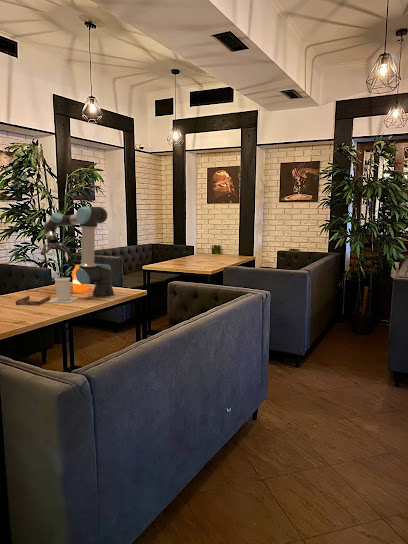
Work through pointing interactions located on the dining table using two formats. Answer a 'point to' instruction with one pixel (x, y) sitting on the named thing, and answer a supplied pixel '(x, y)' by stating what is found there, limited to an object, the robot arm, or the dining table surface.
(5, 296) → the dining table surface
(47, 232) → the robot arm
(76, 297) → the grey mat
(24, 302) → the dark brown wooden board
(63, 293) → the jar
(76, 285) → the orange juice
